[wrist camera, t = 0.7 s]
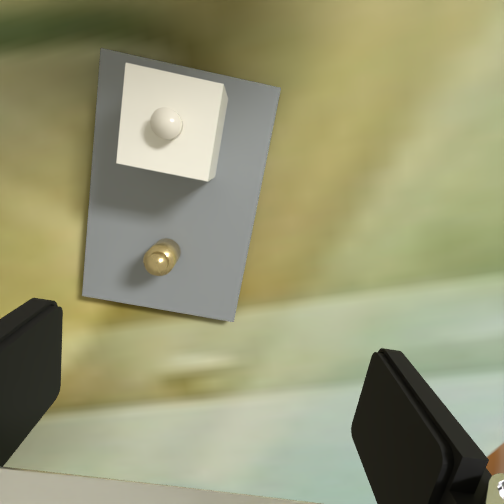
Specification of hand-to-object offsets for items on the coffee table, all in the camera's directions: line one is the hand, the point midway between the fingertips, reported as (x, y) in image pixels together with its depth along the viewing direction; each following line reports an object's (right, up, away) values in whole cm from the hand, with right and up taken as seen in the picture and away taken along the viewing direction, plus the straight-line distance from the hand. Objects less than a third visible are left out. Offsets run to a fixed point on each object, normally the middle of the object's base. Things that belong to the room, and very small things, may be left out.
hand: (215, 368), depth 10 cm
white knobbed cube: (-5, +14, +19) cm, 24 cm away
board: (-6, +9, +22) cm, 24 cm away
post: (-7, +3, +22) cm, 24 cm away
